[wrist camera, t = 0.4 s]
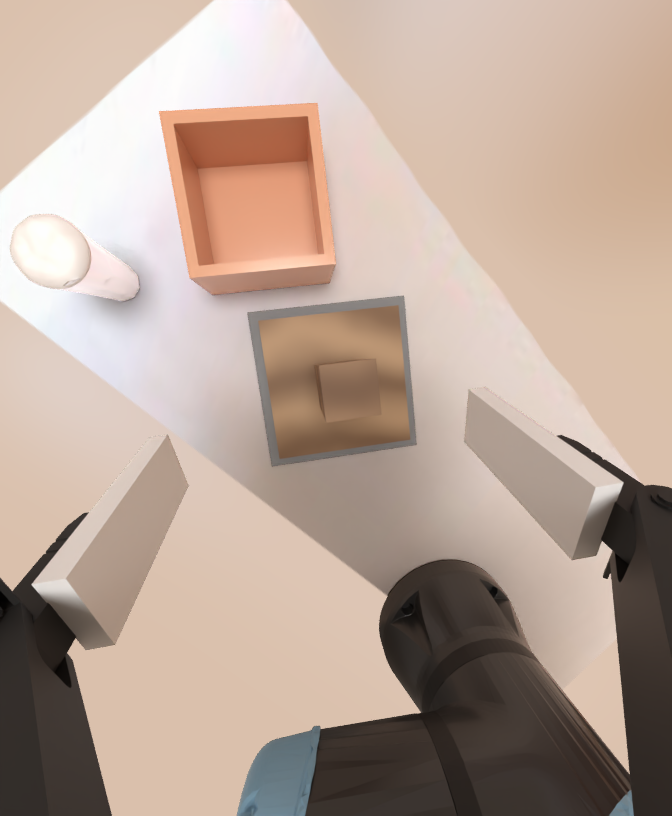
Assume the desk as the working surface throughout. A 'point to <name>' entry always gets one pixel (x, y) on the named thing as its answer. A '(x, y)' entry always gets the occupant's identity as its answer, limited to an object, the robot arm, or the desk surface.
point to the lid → (336, 380)
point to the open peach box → (251, 196)
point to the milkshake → (69, 259)
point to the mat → (322, 309)
